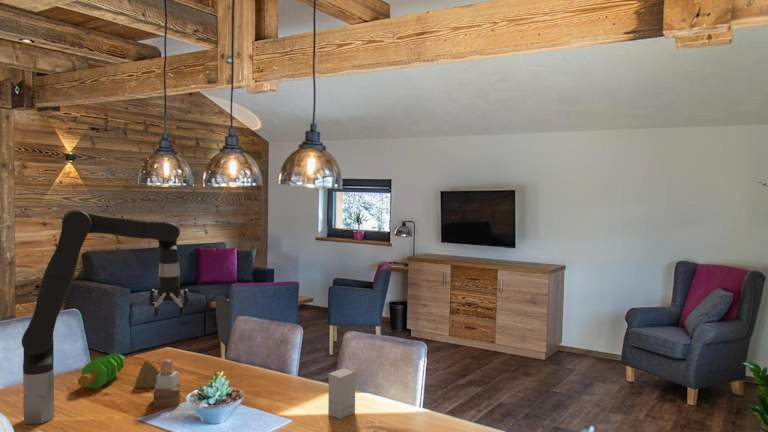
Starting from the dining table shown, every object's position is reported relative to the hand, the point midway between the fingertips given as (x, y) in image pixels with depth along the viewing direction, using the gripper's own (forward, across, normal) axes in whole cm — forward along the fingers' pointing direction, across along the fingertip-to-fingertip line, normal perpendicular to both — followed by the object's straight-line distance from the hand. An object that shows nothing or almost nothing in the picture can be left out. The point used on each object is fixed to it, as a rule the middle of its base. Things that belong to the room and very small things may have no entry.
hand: (169, 316), depth 230 cm
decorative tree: (+32, -32, +22) cm, 51 cm away
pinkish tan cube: (+21, 0, -3) cm, 21 cm away
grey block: (+26, 0, -3) cm, 27 cm away
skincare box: (+32, +66, -19) cm, 76 cm away
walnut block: (+32, 0, -3) cm, 33 cm away
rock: (+32, -12, +15) cm, 38 cm away
